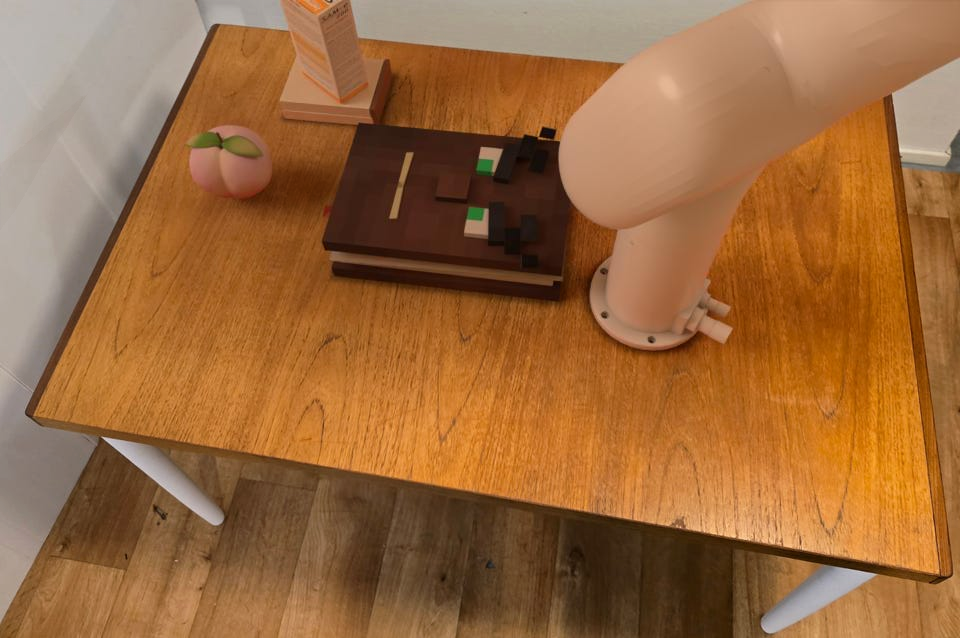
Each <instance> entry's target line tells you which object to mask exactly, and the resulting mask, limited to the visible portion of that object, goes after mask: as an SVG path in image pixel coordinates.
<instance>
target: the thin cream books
mask: <svg viewBox="0 0 960 638" xmlns="http://www.w3.org/2000/svg"><path fill="white" fill-rule="evenodd" d="M362 58H363V62H364V67H365V71H366V76H367V80H368V86H367V87H366V88H365V89H363V90H362V91H360V92H359V93H357V94H356V95H354V96H353V97H351V98H350V99H348V100H347V101H346V102H344V103H342V104H341V103H340V102H338V101H337V100H336V99H334V98H333V97H332V96H331V95H329V94H328V93H327V92H325V91H324V90H323V89H321V88H320V87H319V86H318V85H316V84H315V83H314V82H312V81H311V80H310V79H309V78H308V77H306V76H305V75H304V74H303V73H302V70H301V66H300V63H299V60H298V57H297V55H296V56H295V59H294V61H293V64H292V66H291V69H290V71H289V75H288V76H287V80H286V82H285V85H284V87H283V91H282V93H281V95H280V98H279V100H278V101H279V104H280V107H281V109H282V111H281V112H282V113H283V117H284V118H285V120H296V121H305V122H306V121H307V122H317V123H318V122H319V123H327V124H328V123H331V124H339V125H351V126H352V125H354V126H357V125H358V123H369V124H380V121H381V118H382V115H383V112H384V108H385V105H386V101H387V98H388V94H389V90H390V88H391V84H392V80H393V72H392V67H391V60H390V59H389V58H385V59H383V58H382V59H381V58H371V57H362Z"/></svg>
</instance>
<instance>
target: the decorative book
mask: <svg viewBox="0 0 960 638" xmlns="http://www.w3.org/2000/svg"><path fill="white" fill-rule="evenodd" d="M557 129H558V128H554V127H549V126H542V125H541V129H540V132H539V135H538V136H535V135H530V134H526V133H524V134H523V135H522V137H518V136H507V135H496V134H488V133H487V134H486V133H474V132H466V131H465V132H464V131H454V130H443V129H433V128H422V127H410V126H401V125H400V126H399V125H390V124H380V123H379V124H369V123H358V125H356V129H355V132H354V136H353V138H352V142H351V145H350V149H349V151H348V154H347V157H346V161H345V165H344V168H343V172H342V174H341V177H340V181H339V184H338V186H337V191H336V194H335V196H334V200H333V203H332V204H325V205H324V207H323V208H324V209H323V212H322V217H323V218H327V219H328V220H327V221H326V225H325V229H324V232H323V235H322V239H321V243H322V246H323V249H324V251H329V256H328V261H330V262H332V264H331V271H332V273H333V275H334V277H341V278H350V279H357V280H358V279H359V280H367V281H376V282H385V283H393V284H401V285H411V286H419V287H428V288H438V289H446V290H452V291H453V290H455V291H463V292H473V293H479V294H480V293H481V294H489V295H496V296H497V295H499V296H507V297H515V298H523V299H533V300H540V301H541V300H542V301H551V302H559V301H560V294H561V285H562V282H564V273H565V272H564V271H565V261H566V249H567V237H568V227H569V217H570V211H576V212H580V211H579V210H578V209H577V208H576V207H575V206H574V204H573V203H572V202H571V200H570V198H569V197H568V195H567V193H566V191H565V189H564V186H563V183H562V180H561V175H560V170H559V146H560V141H561V140H555V136H556V133H557ZM539 138H541V139H539ZM542 138H543V139H542Z"/></svg>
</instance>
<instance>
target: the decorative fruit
mask: <svg viewBox="0 0 960 638" xmlns="http://www.w3.org/2000/svg"><path fill="white" fill-rule="evenodd" d="M185 146H186V147H188V148H191V150H190V154H189V172H190V176H191V177H192V180H193V181H194V183H195V184H196V185H197V186H198V187H199V188H200V189H202V190H204V191H206V192H208V193H210V194H212V195H215V196H217V197H221V198H226V199H234V198H238V199H248V198H251V197H255V196H256V195H258V194H259V193H261V192H262V191H263V190H264V189H266V188H267V187H268V185H269V184H270V182H271V179H272V176H273V161H272V160H273V159H272V156H271V152H270V149H269V146H268V144H267V142H266V141H265V139H264V138H263V137H262V136H261V135H260V134H259V133H257V132H256V131H254V130H253V129H251V128H248V127H246V126H241V125H234V124H225V125H219V126H215V127H213V128H211V129H209V130H207V131H204V132H203V131H202V132H198V133H196V134H195V135H193V136H192V137H190V138H189V139H188V140H187V141H186V142H185Z"/></svg>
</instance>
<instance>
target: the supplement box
mask: <svg viewBox="0 0 960 638" xmlns="http://www.w3.org/2000/svg"><path fill="white" fill-rule="evenodd" d="M279 3H280V6H281V10H282V13H283V15H284V18H285V22H286V24H287V28H288V31H289V34H290V37H291V40H292V43H293V47H294V50H295V53H296V56H297V57H298V60H299V63H300V66H301V70H302V73H303V74H304V75H305V76H306V77H308V78H309V79H310V80H311V81H312V82H314V83H315V84H316V85H318V86H319V87H320V88H321V89H323V90H324V91H325V92H327V93H328V94H329V95H331V96H332V97H333V98H334V99H336V100H337V101H338V102H340V103H341V104H342V103H344V102H346V101H347V100H348V99H350V98H351V97H353V96H354V95H356V94H357V93H359V92H360V91H362V90H363V89H365V88H366V87H367V86H368V80H367V76H366V71H365V67H364V62H363V58H364V57H363V54H362V53H363V52H362V49H361V44H360V39H359V35H358V30H357V25H356V22H355V16H354V12H353V8H352V3H351V0H279Z"/></svg>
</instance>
